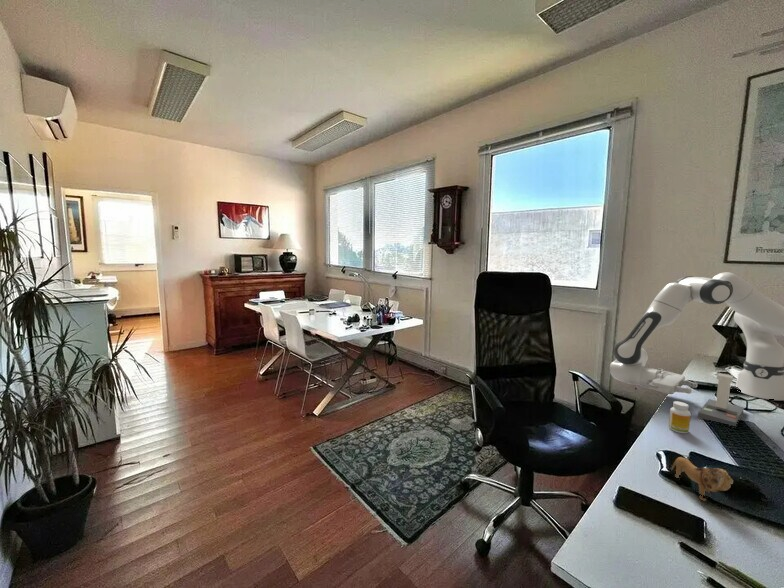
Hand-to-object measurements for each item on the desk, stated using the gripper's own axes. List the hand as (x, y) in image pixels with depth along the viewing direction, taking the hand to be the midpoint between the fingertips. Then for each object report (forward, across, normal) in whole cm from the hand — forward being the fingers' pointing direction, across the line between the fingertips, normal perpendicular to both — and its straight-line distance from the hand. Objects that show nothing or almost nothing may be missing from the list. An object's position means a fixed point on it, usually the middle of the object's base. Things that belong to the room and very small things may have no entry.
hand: (694, 388), depth 134 cm
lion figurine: (+13, -64, +8) cm, 66 cm away
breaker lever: (+8, 0, +5) cm, 10 cm away
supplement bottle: (+2, -28, +8) cm, 29 cm away
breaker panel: (+8, 0, +8) cm, 11 cm away
